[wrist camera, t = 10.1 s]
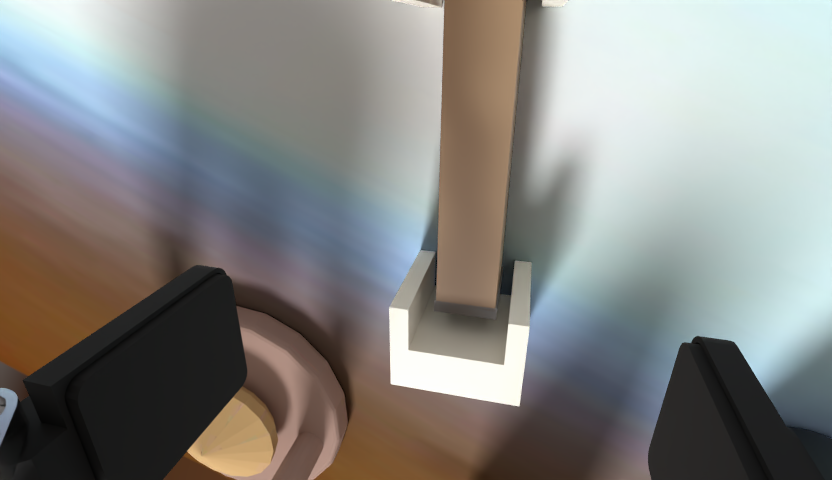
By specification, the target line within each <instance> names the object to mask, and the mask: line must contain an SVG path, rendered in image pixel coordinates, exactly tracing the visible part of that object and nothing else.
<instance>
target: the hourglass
mask: <svg viewBox="0 0 832 480" xmlns="http://www.w3.org/2000/svg"><path fill="white" fill-rule="evenodd" d="M236 307H237V313H238V319H239V325H240V330H241V336H242V342H243V347H244V353H245V359H246V364H247V377H246V381H245V383H244V385H243V386H242V387H241V388H240V390H239V391H238V392H237V393H236V394H235V396H234V397H233V398H232V399H231V400H230V401H229V403H228V404H227V405H226V406H225V407H224V408H223V410H222V411H221V412H220V413H219V414H218V415H217V417H216V418H215V419H214V420H213V421H212V422H211V424H210V425H209V426H208V427H207V428H206V430H205V431H204V432H203V433H202V434H201V435H200V437H199V438H198V439H197V440H196V441H195V442H194V444H193V445H192V446H191V447H190V448H189V449H188V451H187V452H188V453H190V454H191V455H192V456H193V457H194V458H195V459H196V460H198V461H199V462H201V463H203V464H204V465H206V466H208V467H209V468H211V469H213V470H215V471H218V472H220V473H222V474H224V475H225V476H228V477H231V478H234V479H237V480H314V479H315V478H316V477H317V476H318V475H319V474H320V473H322V472H323V471H324V470H325V469H326V468H327V467H328V466H330V465H331V464H332V463H333V461H334V459H335V457H336V455H337V453H338V451H339V448H340V445H341V442H342V439H343V437H344V434H345V431H346V428H347V425H348V418H347V411H346V403H345V395H344V392H343V390H342V388H341V386H340V384H339V382H338V381H337V379H336V377H335V375H334V373H333V371H332V369H331V367H330V366H329V364H328V362H327V361H326V360H325V359H324V358H323V357H322V356H321V355H320V353H319V352H318V351H317V350H316V349H315V348H314V347H313V346H312V345H311V344H310V343H309V342H308V341H307V340H306V339H305V338H304V337H303V336H302V335H301V334H300V333H298V332H296V331H294V330H293V329H291V328H289V327H288V326H286V325H284V324H283V323H281V322H279V321H278V320H276V319H274V318H272V317H271V316H269V315H267V314H265V313H261V312H257V311H254V310H250V309H246V308H242V307H239V306H236Z"/></svg>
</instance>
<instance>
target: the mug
mask: <svg viewBox="0 0 832 480" xmlns="http://www.w3.org/2000/svg"><path fill="white" fill-rule="evenodd" d="M788 428H790V429H791V430H793V432H794V433H795V434H796V435H797V436H798V438H799V439H800V441H801V442H802V444H803V446H804V447H805V449H806V450H807V452H808V454H809V455H810V457H811V458H812V460H813V462H814V463H815V465H816V466H817V468H818V470H819V471H820V473H821V474H822V476H823V478H824V479H825V480H832V439H831V438H829V437H827V436H825V435H822V434H819V433H816V432H813V431H809V430H805V429H800V428H792V427H788Z"/></svg>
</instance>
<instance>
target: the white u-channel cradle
mask: <svg viewBox="0 0 832 480" xmlns="http://www.w3.org/2000/svg"><path fill="white" fill-rule="evenodd" d="M392 1H396V2H401V3H405V4H410V5H415V6H419V7H442V0H392ZM568 1H569V0H542V7H563V6H564V5H565V4H566V3H567V2H568ZM435 297H436V286H435V252H434V251H424V250H420V252H419V253H418V255H417V257H416V259H415V261H414V263H413V264H412V266H411V268H410V270H409V272H408V274H407V276H406V277H405V279H404V281H403V283H402V285H401V287H400V288H399V290H398V292H397V294H396V296H395V298H394V300H393V301H392V303H391V305H390V307H389V317H390V366H391V384H394V385H400V386H405V387H411V388H417V389H422V390H428V391H434V392H440V393H445V394H451V395H457V396H462V397H468V398H474V399H480V400H485V401H491V402H497V403H503V404H508V405H514V406H519V405H520V398H521V390H522V382H523V374H524V367H525V359H526V351H527V343H528V335H529V328H530V297H531V262H525V261H516V260H515V264H514V274H513V283H512V293H511V295H505V294H500V297H499V304H498V311H497V317H496V320H494V319H486V318H479V317H472V316H465V315H457V314H450V313H443V312H435V311H434V300H435Z"/></svg>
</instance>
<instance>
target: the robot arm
mask: <svg viewBox="0 0 832 480" xmlns="http://www.w3.org/2000/svg"><path fill="white" fill-rule="evenodd" d="M246 377H247V364H246V359H245V353H244V347H243V342H242V336H241V330H240V325H239V319H238V313H237V307H236V302H235V296H234V290H233V285H232V281H231V279H230V277H229V276H227V275H226V273H225V271H224V270H223V269H221V268H215V267H208V266H201V265H196V266H194V267H192V268H190V269H189V270H187V271H186V272H184V273H183V274H181V275H180V276H178V277H177V278H175V279H174V280H172V281H171V282H169V283H168V284H166V285H165V286H163V287H162V288H160V289H159V290H157V291H156V292H154V293H153V294H151V295H150V296H148V297H147V298H145V299H144V300H142V301H141V302H139V303H138V304H136V305H135V306H133V307H132V308H130V309H129V310H127V311H126V312H124V313H123V314H121V315H120V316H118V317H117V318H115V319H114V320H112V321H111V322H109V323H108V324H106V325H105V326H103V327H102V328H100V329H99V330H97V331H96V332H94V333H93V334H91V335H90V336H88V337H87V338H85V339H84V340H82V341H81V342H79V343H78V344H76V345H75V346H73V347H72V348H70V349H69V350H67V351H66V352H64V353H63V354H61V355H60V356H58V357H57V358H55V359H54V360H52V361H51V362H49V363H48V364H46V365H45V366H43V367H42V368H40V369H39V370H37V371H36V372H34V373H33V374H31V375H30V376H28V377H27V378H25V379H24V380H23V382H24V384H25V387H26V389H27V391H28V394H29V397H27V398H25V399H24V400H23V401H21V402H20V401H19V399H18V397H17V395H16V394H15V393H14V391H11V390H8V389H5V388H0V480H163V479H164V477H165V476H166V475H167V474H168V473H169V472H170V471H171V469H172V468H173V467H174V466H175V465H176V463H177V462H178V461H179V460H180V459H181V458H182V456H183V455H184V454H185V453H186V452H187V451H188V449H189V448H190V447H191V446H192V445H193V444H194V442H195V441H196V440H197V439H198V438H199V437H200V435H201V434H202V433H203V432H204V431H205V430H206V428H207V427H208V426H209V425H210V424H211V422H212V421H213V420H214V419H215V418H216V417H217V415H218V414H219V413H220V412H221V411H222V410H223V408H224V407H225V406H226V405H227V404H228V403H229V401H230V400H231V399H232V398H233V397H234V396H235V394H236V393H237V392H238V391H239V390H240V388H241V387H242V386H243V385H244V383H245V381H246ZM648 465H649V471H650V475H651V479H652V480H825V479H824V478H823V476H822V474H821V473H820V471H819V470H818V468H817V466H816V465H815V463H814V462H813V460H812V458H811V457H810V455H809V454H808V452H807V450H806V449H805V447H804V446H803V444H802V442H801V441H800V439H799V438H798V436H797V435H796V434H795V433H794V432H793V430H791V429H790V428H788V427H786V425H785V423H784V422H783V420H782V418H781V417H780V415H779V414H778V412H777V410H776V409H775V407H774V405H773V404H772V402H771V400H770V399H769V397H768V396H767V394H766V392H765V391H764V389H763V387H762V386H761V384H760V383H759V381H758V379H757V378H756V376H755V374H754V373H753V371H752V370H751V368H750V366H749V365H748V363H747V361H746V360H745V358H744V356H743V355H742V353H741V352H740V350H739V348H738V347H737V345H736V344H735V343H734V342H732V341H728V340H721V339H714V338H707V337H700V336H697V337H695V338H694V339H693V340H692V342H691V343H686V342H684V343H682V344H681V346H680V348H679V351H678V355H677V358H676V361H675V364H674V368H673V371H672V374H671V378H670V381H669V384H668V388H667V391H666V394H665V398H664V401H663V404H662V407H661V411H660V414H659V417H658V421H657V424H656V427H655V431H654V434H653V437H652V440H651V444H650V447H649V453H648Z"/></svg>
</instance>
